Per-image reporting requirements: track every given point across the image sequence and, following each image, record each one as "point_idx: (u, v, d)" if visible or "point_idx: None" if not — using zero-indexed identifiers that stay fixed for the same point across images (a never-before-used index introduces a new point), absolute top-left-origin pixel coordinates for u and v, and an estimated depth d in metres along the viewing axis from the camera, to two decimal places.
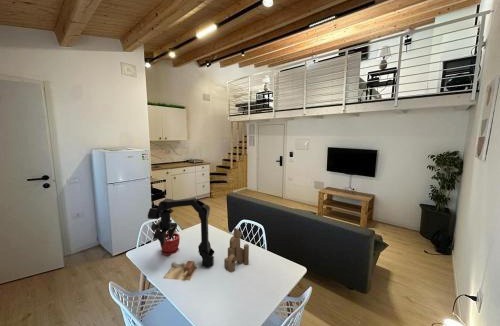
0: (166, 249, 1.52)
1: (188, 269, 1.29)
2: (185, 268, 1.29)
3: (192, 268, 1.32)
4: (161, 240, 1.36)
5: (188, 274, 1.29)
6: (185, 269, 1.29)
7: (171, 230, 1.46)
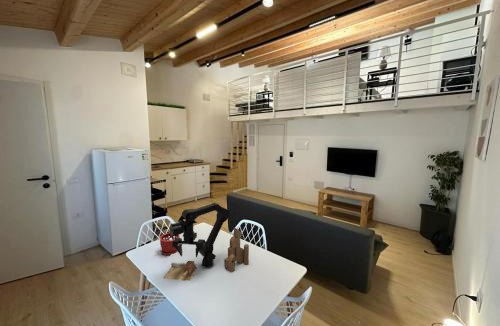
0: (166, 249, 1.52)
1: (188, 269, 1.29)
2: (185, 268, 1.29)
3: (192, 268, 1.32)
4: None
5: (188, 274, 1.29)
6: (185, 269, 1.29)
7: None
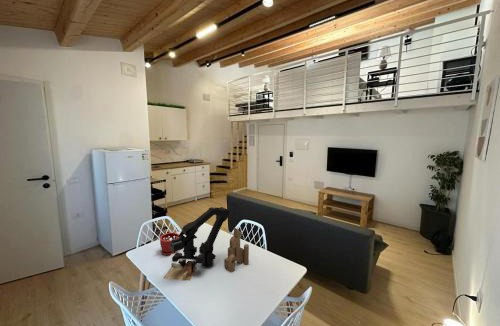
0: (166, 249, 1.52)
1: (188, 269, 1.29)
2: (185, 268, 1.29)
3: None
4: None
5: (188, 274, 1.29)
6: (185, 269, 1.29)
7: None
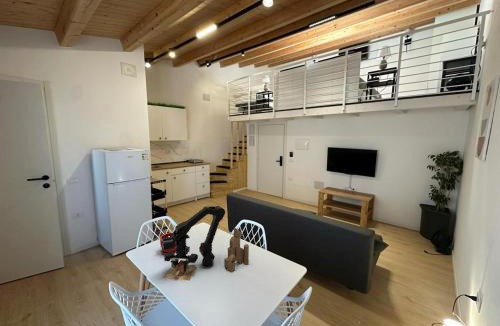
0: None
1: (180, 268, 1.29)
2: (177, 267, 1.29)
3: None
4: None
5: (180, 273, 1.29)
6: (177, 268, 1.29)
7: None
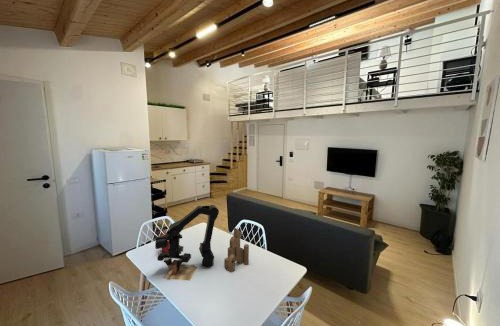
0: (166, 249, 1.52)
1: (173, 268, 1.30)
2: (170, 267, 1.30)
3: None
4: None
5: (173, 273, 1.30)
6: (170, 268, 1.30)
7: None
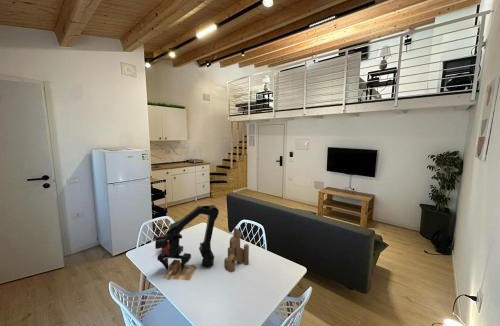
0: (166, 249, 1.52)
1: (173, 268, 1.30)
2: (170, 267, 1.30)
3: (178, 267, 1.33)
4: None
5: (173, 273, 1.30)
6: (170, 268, 1.30)
7: None
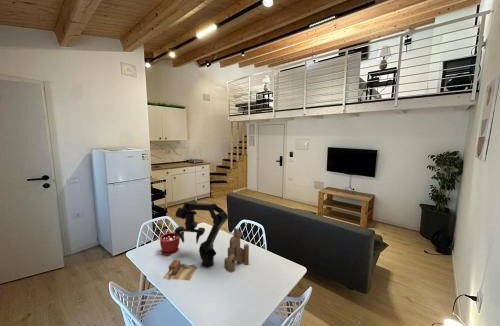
0: (166, 249, 1.52)
1: (173, 268, 1.30)
2: (170, 267, 1.30)
3: (178, 267, 1.33)
4: None
5: (173, 273, 1.30)
6: (170, 268, 1.30)
7: None
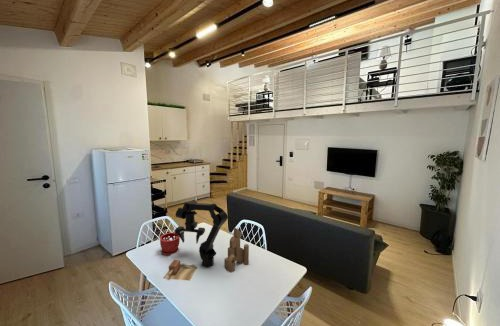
0: (166, 249, 1.52)
1: (173, 268, 1.30)
2: (170, 267, 1.30)
3: (178, 267, 1.33)
4: None
5: (173, 273, 1.30)
6: (170, 268, 1.30)
7: None
